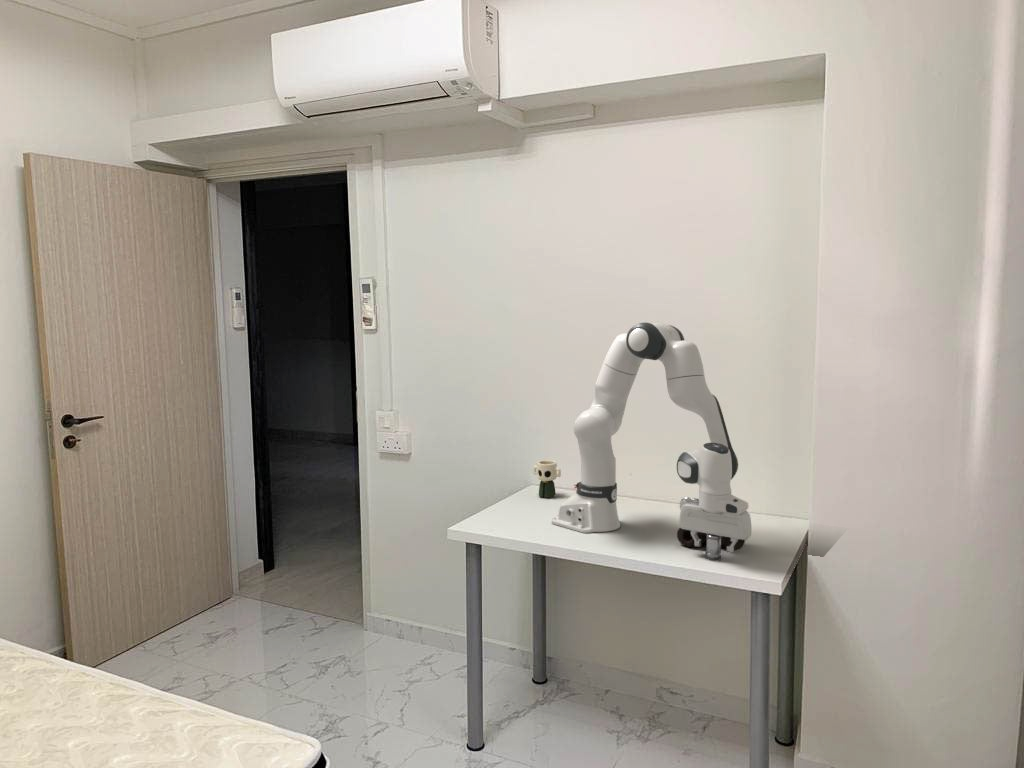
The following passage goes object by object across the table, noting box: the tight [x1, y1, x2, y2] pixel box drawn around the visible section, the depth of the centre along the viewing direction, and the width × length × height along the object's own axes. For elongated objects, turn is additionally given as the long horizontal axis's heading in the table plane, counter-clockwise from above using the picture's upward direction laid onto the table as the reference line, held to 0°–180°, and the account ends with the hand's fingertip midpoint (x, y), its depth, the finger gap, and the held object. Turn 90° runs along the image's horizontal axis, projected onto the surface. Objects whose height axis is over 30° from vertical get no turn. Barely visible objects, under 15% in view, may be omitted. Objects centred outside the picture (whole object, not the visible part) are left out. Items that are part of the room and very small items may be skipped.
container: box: [705, 533, 722, 562], centre depth 219 cm, size 4×4×7 cm
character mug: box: [533, 459, 562, 498], centre depth 286 cm, size 11×7×13 cm, turn 63°
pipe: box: [676, 527, 746, 551], centre depth 231 cm, size 10×15×15 cm
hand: (713, 549), depth 219 cm, fingers open, 8 cm apart
